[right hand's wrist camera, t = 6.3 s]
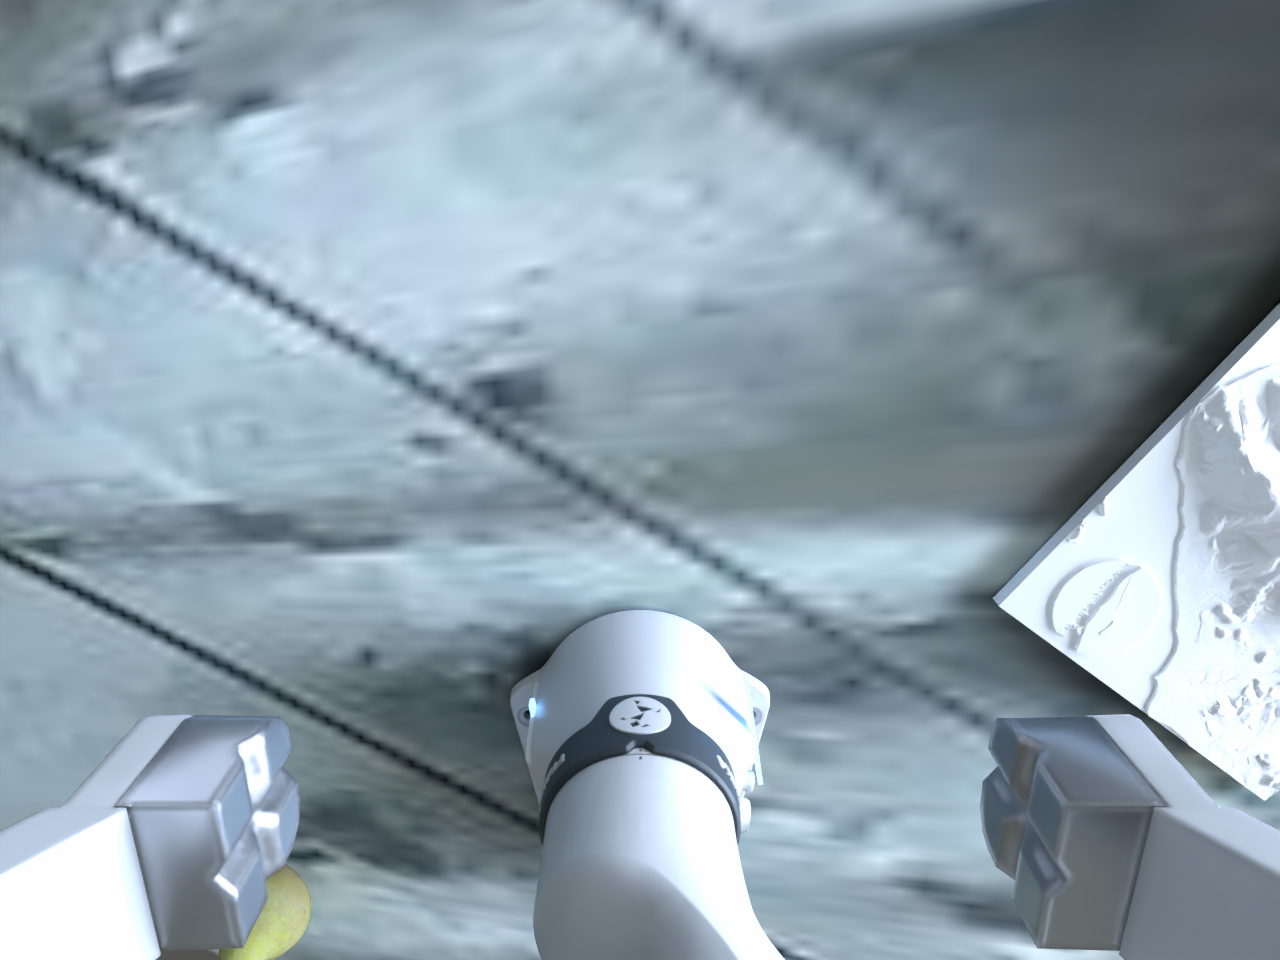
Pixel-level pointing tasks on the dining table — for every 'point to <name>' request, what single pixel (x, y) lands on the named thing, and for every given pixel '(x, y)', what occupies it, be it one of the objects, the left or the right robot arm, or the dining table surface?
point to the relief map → (1183, 571)
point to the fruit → (276, 919)
